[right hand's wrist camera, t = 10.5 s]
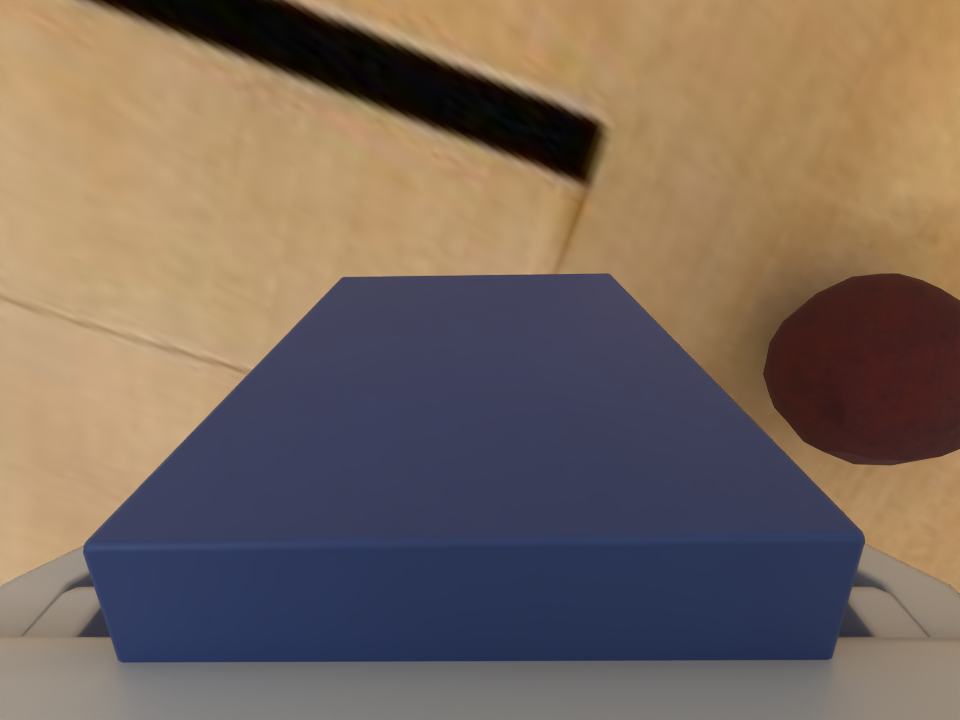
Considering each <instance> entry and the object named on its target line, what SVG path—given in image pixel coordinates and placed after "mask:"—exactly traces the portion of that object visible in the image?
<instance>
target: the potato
mask: <svg viewBox="0 0 960 720" xmlns="http://www.w3.org/2000/svg"><path fill="white" fill-rule="evenodd" d="M763 374H764V378H765V381H766V385H767V388H768V392H769V395H770V398H771V400H772V403H773V405H774V408H775V409H776V410H777V411H778V412H779V413H780V414H781V415H782V416H783V417H784V418H785V419H786V421H787V422H788V423H789V424H790V426H791V427H792V428H793V429H794V430H795V432H796V433H797V434H798V435H799V437H800V438H801V439H802V440H803V441H804V442H806V443H808V444H809V445H811V446H813V447H815V448H817V449H819V450H821V451H823V452H825V453H828V454H830V455H833V456H835V457H838V458H840V459H843V460H845V461H848V462H850V463H853V464H866V465H895V464H901V463H907V462H912V461H918V460H924V459H929V458H934V457H940V456H943V455H946V454H948V453H951V452H953V451H956V450H958V449H960V300H958V299H956V298H955V297H953V296H952V295H950V294H948V293H947V292H945V291H944V290H942V289H940V288H938V287H936V286H934V285H931V284H929V283H927V282H925V281H923V280H920V279H916V278H912V277H909V276H905V275H901V274H875V275H865V276H856V277H851V278H849V279H847V280H845V281H842V282H840V283H838V284H836V285H834V286H832V287H830V288H827V289H825V290H823V291H821V292H819V293H817V294H816V295H815V296H813V297H812V298H811V299H810V300H809V301H807V302H806V303H805V304H804V305H802V306H801V307H800V308H799V309H798V310H796V311H795V312H794V313H793V314H792V315H790V316H789V317H788V318H787V319H786V320H784V321H783V323H782V324H781V326H780V327H779V329H778V331H777V332H776V334H775V335H774V337H773V339H772V340H771V342H770V344H769V349H768V355H767V360H766V364H765V368H764V373H763Z"/></svg>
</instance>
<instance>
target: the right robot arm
mask: <svg viewBox="0 0 960 720" xmlns="http://www.w3.org/2000/svg"><path fill="white" fill-rule="evenodd" d="M83 547H84V546H81V547H79V548H77V549H75V550H73V551H71V552H69V553H67V554H65V555H63V556H61V557H59V558H57V559H55V560H52V561H50V562H48V563H46V564H44V565H42V566H40V567H38V568H36V569H34V570H32V571H30V572H28V573H25V574H23V575H21V576H19V577H17V578H15V579H13V580H11V581H9V582H7V583H5V584H3V585H2V586H1V587H0V720H960V594H959V593H958V592H957V591H956V590H955V589H954V588H953V587H952V586H951V585H949V584H947V583H945V582H943V581H941V580H939V579H937V578H935V577H933V576H931V575H928V574H926V573H924V572H922V571H920V570H918V569H916V568H914V567H912V566H910V565H908V564H906V563H904V562H902V561H900V560H898V559H896V558H894V557H892V556H890V555H887V554H885V553H883V552H881V551H879V550H877V549H875V548H873V547H871V546H869V545H867V544H864V547H863V551H862V555H861V558H860V562H859V565H858V569H857V572H856V576H855V579H854V583H853V586H852V590H851V593H850V597H849V600H848V604H847V607H846V611H845V614H844V618H843V621H842V625H841V629H840V632H839V636H838V639H837V643H836V646H835V650H834V653H833V657H832V658H831V659H828V660H670V661H400V662H125V663H123V662H120V661H118V659H117V656H116V653H115V650H114V646H113V643H112V640H111V637H110V634H109V631H108V628H107V625H106V622H105V619H104V616H103V613H102V610H101V607H100V604H99V600H98V597H97V594H96V591H95V588H94V585H93V582H92V579H91V576H90V573H89V570H88V567H87V564H86V561H85V558H84V554H83Z"/></svg>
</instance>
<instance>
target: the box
mask: <svg viewBox="0 0 960 720" xmlns="http://www.w3.org/2000/svg"><path fill="white" fill-rule="evenodd" d="M864 544H865V538H864V535H863V532H862V531H861V530H860V529H859V528H858V527H857V526H856V525H855V524H854V523H853V522H852V521H851V520H850V519H849V518H848V517H847V516H846V515H845V514H844V513H843V512H842V511H841V510H840V509H839V508H838V507H837V506H836V505H835V504H834V502H833V501H832V500H831V499H830V498H829V497H828V496H827V495H826V494H825V493H824V492H823V491H822V490H821V489H820V488H819V487H818V486H817V485H816V484H815V483H814V482H813V481H812V480H811V479H810V478H809V477H808V476H807V475H806V474H805V473H804V472H803V471H802V470H801V469H800V468H799V467H798V466H797V465H796V464H795V463H794V462H793V461H792V460H791V459H790V458H789V457H788V456H787V455H786V453H785V452H784V451H783V450H782V449H781V448H780V447H779V446H778V445H777V444H776V443H775V442H774V441H773V440H772V439H771V438H770V437H769V436H768V435H767V434H766V433H765V432H764V431H763V430H762V429H761V428H760V427H759V426H758V425H757V424H756V423H755V422H754V421H753V420H752V419H751V418H750V417H749V416H748V415H747V414H746V413H745V412H744V411H743V410H742V409H741V408H740V407H739V406H738V404H737V403H736V402H735V401H734V400H733V399H732V398H731V397H730V396H729V395H728V394H727V393H726V392H725V391H724V390H723V389H722V388H721V387H720V386H719V385H718V384H717V383H716V382H715V381H714V380H713V379H712V378H711V377H710V376H709V375H708V374H707V373H706V372H705V371H704V370H703V369H702V368H701V367H700V366H699V365H698V364H697V363H696V362H695V361H694V360H693V359H692V358H691V357H690V356H689V354H688V353H687V352H686V351H685V350H684V349H683V348H682V347H681V346H680V345H679V344H678V343H677V342H676V341H675V340H674V339H673V338H672V337H671V336H670V335H669V334H668V333H667V332H666V331H665V330H664V329H663V328H662V327H661V326H660V325H659V324H658V323H657V322H656V321H655V320H654V319H653V318H652V317H651V316H650V315H649V314H648V313H647V312H646V311H645V310H644V309H643V308H642V307H641V305H640V304H639V303H638V302H637V301H636V300H635V299H634V298H633V297H632V296H631V295H630V294H629V293H628V292H627V291H626V290H625V289H624V288H623V287H622V286H621V285H620V284H619V283H618V282H617V281H616V280H615V279H614V278H613V277H612V276H611V275H610V274H545V275H470V276H395V277H343V278H341V279H340V280H339V281H338V282H337V283H336V284H335V285H334V286H333V287H332V288H331V289H330V291H329V292H328V293H327V294H326V295H325V296H324V297H323V298H322V299H321V300H320V301H319V302H318V303H317V304H316V305H315V306H314V307H313V308H312V309H311V310H310V311H309V312H308V313H307V314H306V315H305V316H304V317H303V318H302V319H301V320H300V321H299V323H298V324H297V325H296V326H295V327H294V328H293V329H292V330H291V331H290V332H289V333H288V334H287V335H286V336H285V337H284V338H283V339H282V340H281V341H280V342H279V343H278V344H277V345H276V346H275V347H274V348H273V349H272V350H271V351H270V352H269V353H268V354H267V356H266V357H265V358H264V359H263V360H262V361H261V362H260V363H259V364H258V365H257V366H256V367H255V368H254V369H253V370H252V371H251V372H250V373H249V374H248V375H247V376H246V377H245V378H244V379H243V380H242V381H241V382H240V383H239V384H238V385H237V386H236V388H235V389H234V390H233V391H232V392H231V393H230V394H229V395H228V396H227V397H226V398H225V399H224V400H223V401H222V402H221V403H220V404H219V405H218V406H217V407H216V408H215V409H214V410H213V411H212V412H211V413H210V414H209V415H208V416H207V417H206V418H205V419H204V421H203V422H202V423H201V424H200V425H199V426H198V427H197V428H196V429H195V430H194V431H193V432H192V433H191V434H190V435H189V436H188V437H187V438H186V439H185V440H184V441H183V442H182V443H181V444H180V445H179V446H178V447H177V448H176V449H175V450H174V451H173V453H172V454H171V455H170V456H169V457H168V458H167V459H166V460H165V461H164V462H163V463H162V464H161V465H160V466H159V467H158V468H157V469H156V470H155V471H154V472H153V473H152V474H151V475H150V476H149V477H148V478H147V479H146V480H145V481H144V482H143V483H142V484H141V486H140V487H139V488H138V489H137V490H136V491H135V492H134V493H133V494H132V495H131V496H130V497H129V498H128V499H127V500H126V501H125V502H124V503H123V504H122V505H121V506H120V507H119V508H118V509H117V510H116V511H115V512H114V513H113V514H112V515H111V516H110V518H109V519H108V520H107V521H106V522H105V523H104V524H103V525H102V526H101V527H100V528H99V529H98V530H97V531H96V532H95V533H94V534H93V535H92V536H91V537H90V538H89V539H88V540H87V541H86V542H85V545H84V547H83V554H84V558H85V561H86V564H87V567H88V570H89V573H90V576H91V579H92V582H93V585H94V588H95V591H96V594H97V597H98V600H99V604H100V607H101V610H102V613H103V616H104V619H105V622H106V625H107V628H108V631H109V634H110V637H111V640H112V643H113V646H114V650H115V653H116V656H117V659H118V661H120V662H123V663H125V662H400V661H670V660H828V659H831V658H832V657H833V653H834V650H835V646H836V643H837V639H838V636H839V632H840V629H841V625H842V621H843V618H844V614H845V611H846V607H847V604H848V600H849V597H850V593H851V590H852V586H853V583H854V579H855V576H856V572H857V569H858V565H859V562H860V558H861V555H862V551H863V547H864Z"/></svg>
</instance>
